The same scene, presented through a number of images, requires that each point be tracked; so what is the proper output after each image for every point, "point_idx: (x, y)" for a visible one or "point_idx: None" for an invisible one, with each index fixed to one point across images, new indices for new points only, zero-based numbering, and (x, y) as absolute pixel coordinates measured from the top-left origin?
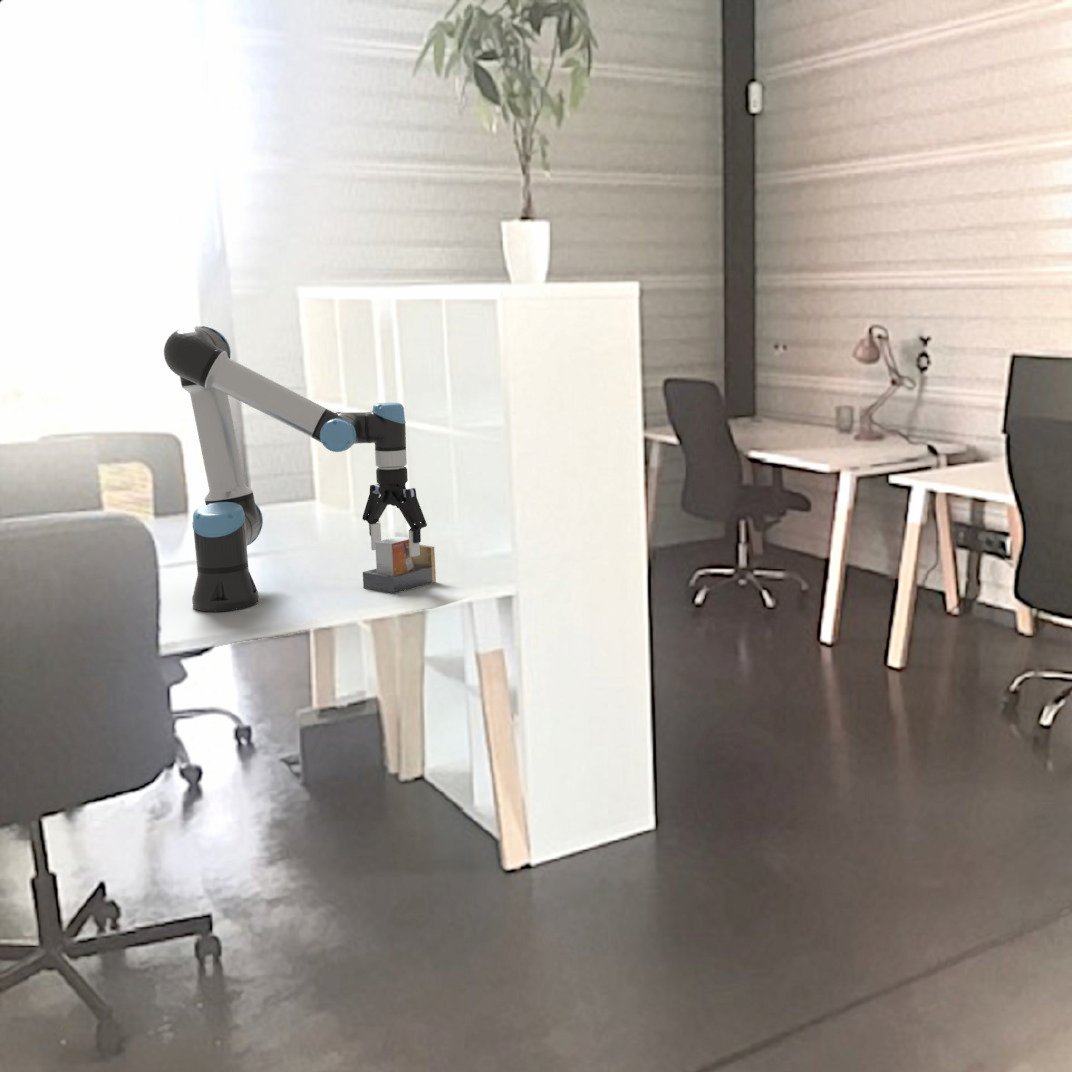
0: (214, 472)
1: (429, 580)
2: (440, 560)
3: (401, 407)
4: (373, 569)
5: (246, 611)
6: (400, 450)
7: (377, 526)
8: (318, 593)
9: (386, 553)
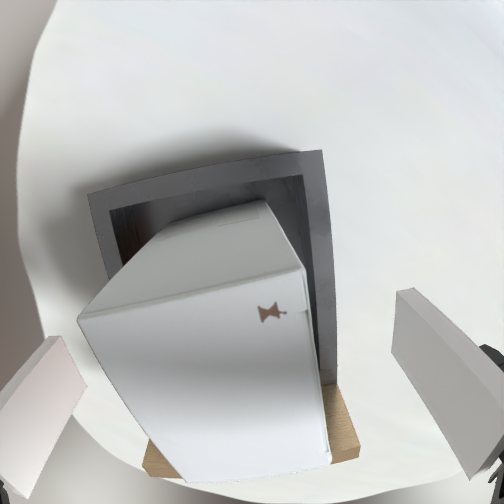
0: None
1: None
2: (370, 463)
3: None
4: (327, 225)
5: None
6: None
7: (472, 443)
8: (355, 6)
9: (159, 262)
